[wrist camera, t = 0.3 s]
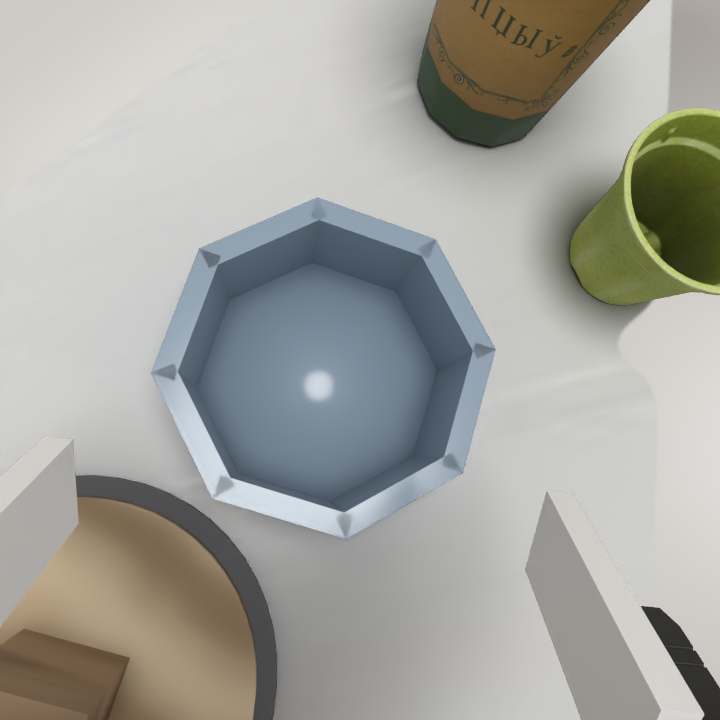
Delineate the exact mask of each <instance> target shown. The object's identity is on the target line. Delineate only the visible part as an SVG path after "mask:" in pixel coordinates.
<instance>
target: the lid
mask: <svg viewBox="0 0 720 720" xmlns="http://www.w3.org/2000/svg"><path fill="white" fill-rule="evenodd" d="M77 507H78V522H79V524H78V525H77V526H76V528H75V529H74V530H73V532H72V533H71V534H70V536H69V537H68V538H67V540H66V541H65V542H64V544H63V545H62V546H61V548H60V549H59V550H58V552H57V553H56V554H55V556H54V557H53V558H52V560H51V561H50V562H49V564H48V565H47V566H46V567H45V569H44V570H43V571H42V573H41V574H40V575H39V577H38V578H37V579H36V581H35V582H34V583H33V585H32V586H31V587H30V589H29V590H28V591H27V593H26V594H25V595H24V597H23V598H22V599H21V601H20V602H19V603H18V605H17V606H16V607H15V609H14V610H13V611H12V613H11V614H10V615H9V617H8V618H7V619H6V621H5V622H4V623H3V625H2V626H1V627H0V720H253V713H254V705H255V697H256V687H257V661H256V653H255V645H254V637H253V633H252V629H251V625H250V621H249V617H248V614H247V611H246V609H245V606H244V604H243V601H242V599H241V596H240V594H239V591H238V590H237V588H236V586H235V584H234V583H233V581H232V579H231V577H230V576H229V574H228V572H227V571H226V569H225V568H224V567H223V565H222V564H221V563H220V561H219V560H218V559H217V558H216V556H215V555H214V554H213V552H211V551H210V550H209V549H208V548H207V547H206V546H205V545H204V544H203V543H202V542H201V541H200V540H199V539H198V538H197V537H196V536H195V535H193V534H192V533H191V532H189V531H188V530H187V529H185V528H184V527H182V526H181V525H180V524H178V523H177V522H175V521H173V520H171V519H169V518H168V517H166V516H164V515H162V514H160V513H158V512H156V511H153V510H151V509H148V508H145V507H143V506H140V505H137V504H135V503H130V502H126V501H121V500H117V499H112V498H103V497H92V496H77Z"/></svg>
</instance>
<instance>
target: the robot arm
mask: <svg viewBox="0 0 720 720" xmlns="http://www.w3.org/2000/svg"><path fill="white" fill-rule="evenodd" d="M78 524H79V522H78V507H77V492H76V477H75V462H74V447H73V440H72V439H63V438H54V437H45V436H44V437H43V438H42V439H41V440H40V441H39V442H38V443H37V444H36V445H35V446H34V447H33V448H31V449H30V450H29V451H28V452H27V453H26V454H25V455H24V456H23V457H22V458H21V459H19V460H18V461H17V462H16V463H15V464H14V465H13V466H12V467H11V468H10V469H9V470H8V471H6V472H5V473H4V474H3V475H2V476H1V477H0V627H1V626H2V625H3V623H4V622H5V621H6V619H7V618H8V617H9V615H10V614H11V613H12V611H13V610H14V609H15V607H16V606H17V605H18V603H19V602H20V601H21V599H22V598H23V597H24V595H25V594H26V593H27V591H28V590H29V589H30V587H31V586H32V585H33V583H34V582H35V581H36V579H37V578H38V577H39V575H40V574H41V573H42V571H43V570H44V569H45V567H46V566H47V565H48V564H49V562H50V561H51V560H52V558H53V557H54V556H55V554H56V553H57V552H58V550H59V549H60V548H61V546H62V545H63V544H64V542H65V541H66V540H67V538H68V537H69V536H70V534H71V533H72V532H73V530H74V529H75V528H76V526H77V525H78ZM525 570H526V573H527V576H528V578H529V581H530V584H531V586H532V589H533V592H534V594H535V597H536V600H537V602H538V605H539V608H540V610H541V613H542V616H543V618H544V621H545V624H546V626H547V629H548V632H549V634H550V637H551V640H552V642H553V645H554V648H555V650H556V653H557V656H558V658H559V661H560V664H561V666H562V669H563V672H564V674H565V677H566V680H567V682H568V685H569V688H570V690H571V693H572V696H573V698H574V701H575V704H576V706H577V709H578V712H579V715H580V717H581V720H720V688H719V686H718V685H717V683H716V682H715V680H714V678H713V677H712V675H711V674H710V672H709V671H708V670H707V668H705V667H704V663H703V662H702V660H701V658H700V657H699V655H698V654H697V652H696V651H693V646H692V645H691V643H690V641H689V640H688V639H687V637H686V635H685V634H684V632H683V631H682V629H681V628H680V626H679V625H678V624H677V623H675V622H674V621H673V620H672V619H671V618H670V617H669V616H668V615H667V614H665V613H664V612H663V611H662V610H661V609H660V608H654V607H645V606H640V604H639V603H638V601H637V599H636V598H635V596H634V594H633V593H632V591H631V589H630V588H629V586H628V584H627V583H626V581H625V579H624V578H623V576H622V574H621V572H620V571H619V569H618V567H617V566H616V564H615V562H614V561H613V559H612V557H611V556H610V554H609V552H608V551H607V549H606V547H605V545H604V544H603V542H602V540H601V539H600V537H599V535H598V534H597V532H596V530H595V529H594V527H593V525H592V524H591V522H590V520H589V518H588V517H587V515H586V513H585V512H584V510H583V508H582V507H581V505H580V503H579V502H578V500H577V498H576V497H575V495H574V493H565V492H556V491H547V492H546V495H545V499H544V503H543V506H542V510H541V514H540V517H539V521H538V525H537V528H536V532H535V535H534V539H533V543H532V546H531V550H530V554H529V557H528V561H527V564H526V568H525Z"/></svg>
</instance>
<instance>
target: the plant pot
mask: <svg viewBox="0 0 720 720" xmlns="http://www.w3.org/2000/svg"><path fill="white" fill-rule="evenodd" d="M570 261H571V265H572V266H573V268H574V269H575V271H576V273H577V275H578V277H579V280H580V282H581V285H582V286H583V288H584V289H585V290H586V291H587V292H588V293H590V294H591V295H592V296H594V297H595V298H597V299H599V300H601V301H603V302H606V303H609V304H613V305H631V304H635V303H639V302H644V301H649V300H654V299H658V298H664V297H669V296H674V295H679V294H684V293H688V292H702V293H706V294H714V295H720V111H716V110H710V109H705V108H691V109H685V110H679V111H675V112H672V113H669V114H667V115H664V116H662V117H660V118H659V119H657V120H656V121H654V122H653V123H651V124H650V125H649V126H648V127H647V128H645V129H644V131H643V132H642V133H641V134H640V135H639V136H638V138H637V139H636V140H635V142H634V143H633V145H632V146H631V148H630V150H629V152H628V154H627V156H626V159H625V162H624V166H623V170H622V172H621V174H620V177H619V179H618V180H617V181H616V182H615V183H614V185H613V186H612V187H611V188H610V189H609V191H608V192H607V193H606V194H605V195H604V197H603V198H602V199H601V200H600V201H599V202H598V204H597V205H596V206H595V207H594V208H593V209H592V210H591V212H590V213H589V214H588V215H587V216H586V217H585V219H584V220H583V221H582V222H581V224H580V225H579V226H578V227H577V229H576V231H575V232H574V234H573V237H572V240H571V244H570Z"/></svg>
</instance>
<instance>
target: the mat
mask: <svg viewBox="0 0 720 720" xmlns="http://www.w3.org/2000/svg"><path fill="white" fill-rule="evenodd" d="M75 477H76V492H77V496H92V497H103V498H112V499H117V500H121V501H126V502H130V503H135V504H137V505H140V506H143V507H145V508H148V509H151V510H153V511H156V512H158V513H160V514H162V515H164V516H166V517H168V518H169V519H171V520H173V521H175V522H177V523H178V524H180V525H181V526H182V527H184V528H185V529H187V530H188V531H189V532H191V533H192V534H193V535H195V536H196V537H197V538H198V539H199V540H200V541H201V542H202V543H203V544H204V545H205V546H206V547H207V548H208V549H209V550H210V551H211V552H213V554H214V555H215V556H216V558H217V559H218V560H219V561H220V563H221V564H222V565H223V567H224V568H225V569H226V571H227V572H228V574H229V576H230V577H231V579H232V581H233V583H234V584H235V586H236V588H237V590H238V591H239V594H240V596H241V599H242V601H243V604H244V606H245V609H246V611H247V614H248V617H249V621H250V625H251V629H252V633H253V637H254V645H255V653H256V661H257V687H256V697H255V705H254V713H253V720H272V718H273V714H274V705H275V697H276V688H277V653H276V646H275V638H274V630H273V625H272V622H271V618H270V614H269V610H268V606H267V603H266V600H265V598H264V595H263V593H262V591H261V588H260V586H259V583H258V581H257V579H256V577H255V575H254V573H253V572H252V570H251V568H250V566H249V565H248V563H247V561H246V559H245V558H244V556H243V555H242V554H241V552H240V551H239V550H238V549H237V547H236V546H235V545H234V543H233V542H232V541H231V540H230V538H229V537H228V536H227V535H226V534H225V533H224V532H223V531H222V530H221V529H220V528H219V527H218V526H217V525H216V524H215V523H214V522H213V521H212V520H210V519H209V518H208V517H206V516H205V515H204V514H202V513H201V512H200V511H198V510H197V509H196V508H194V507H193V506H191V505H190V504H188V503H186V502H184V501H183V500H181V499H179V498H177V497H175V496H173V495H171V494H170V493H167V492H165V491H162V490H160V489H157V488H154V487H152V486H149V485H146V484H143V483H139V482H134V481H130V480H126V479H121V478H114V477H103V476H75Z"/></svg>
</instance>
